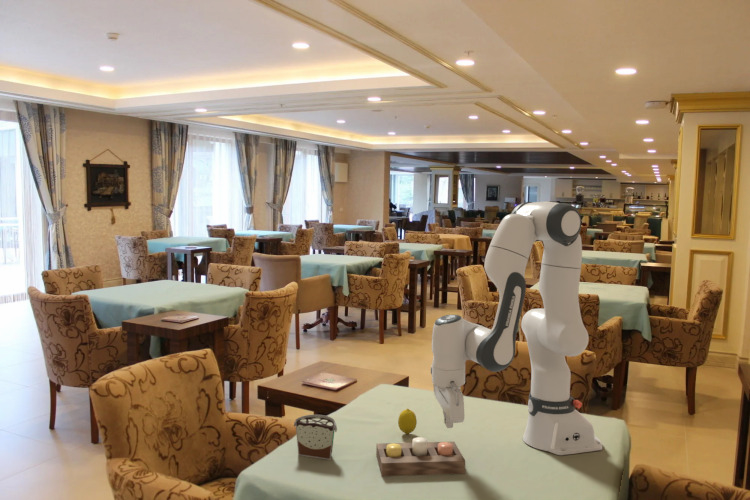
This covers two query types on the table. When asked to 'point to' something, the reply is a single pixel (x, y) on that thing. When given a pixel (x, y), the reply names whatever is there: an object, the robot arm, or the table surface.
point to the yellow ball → (393, 450)
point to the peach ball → (445, 448)
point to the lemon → (407, 421)
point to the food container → (315, 435)
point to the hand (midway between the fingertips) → (448, 425)
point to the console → (419, 461)
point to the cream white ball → (419, 446)
